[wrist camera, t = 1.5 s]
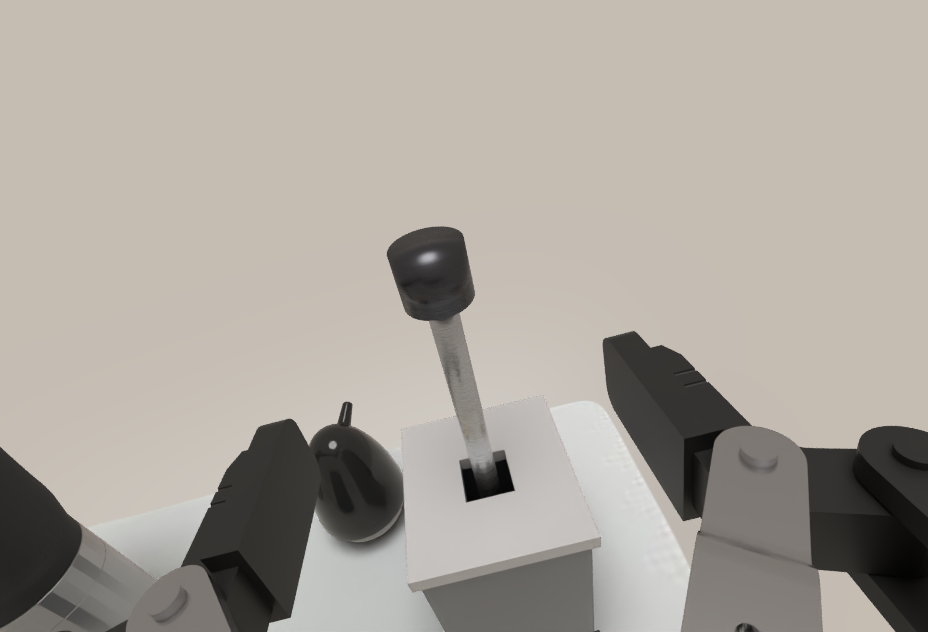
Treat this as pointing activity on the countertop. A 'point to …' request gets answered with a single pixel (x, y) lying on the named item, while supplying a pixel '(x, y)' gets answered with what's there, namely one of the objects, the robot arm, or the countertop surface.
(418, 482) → the press
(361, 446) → the black egg-shaped dispenser
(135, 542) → the countertop surface
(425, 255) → the plunger
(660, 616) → the countertop surface
